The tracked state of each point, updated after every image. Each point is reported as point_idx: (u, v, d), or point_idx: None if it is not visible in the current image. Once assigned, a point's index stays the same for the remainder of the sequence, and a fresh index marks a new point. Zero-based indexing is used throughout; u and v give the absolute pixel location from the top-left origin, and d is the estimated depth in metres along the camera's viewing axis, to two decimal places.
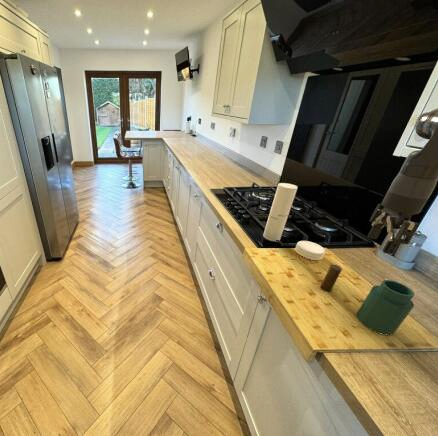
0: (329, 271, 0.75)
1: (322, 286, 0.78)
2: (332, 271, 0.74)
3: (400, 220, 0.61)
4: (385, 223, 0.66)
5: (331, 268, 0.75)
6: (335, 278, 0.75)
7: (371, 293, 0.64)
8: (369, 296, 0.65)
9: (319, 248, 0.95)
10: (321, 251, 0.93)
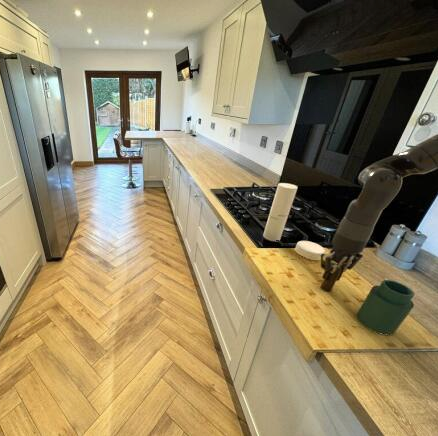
0: None
1: (322, 286, 0.78)
2: None
3: (330, 251, 0.72)
4: None
5: None
6: (335, 278, 0.75)
7: (371, 293, 0.64)
8: (369, 296, 0.65)
9: (319, 248, 0.95)
10: (321, 251, 0.93)
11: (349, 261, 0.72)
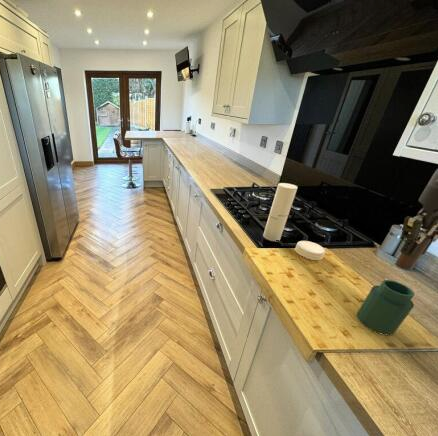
0: None
1: (399, 263, 0.59)
2: None
3: (418, 213, 0.53)
4: None
5: None
6: (421, 251, 0.56)
7: (371, 293, 0.64)
8: (369, 296, 0.65)
9: (319, 248, 0.95)
10: (321, 251, 0.93)
11: None
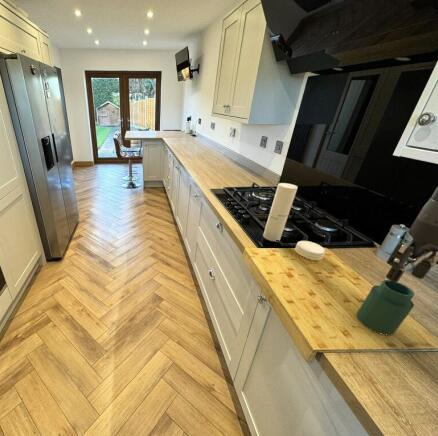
0: None
1: None
2: None
3: (408, 245, 0.55)
4: None
5: None
6: None
7: (371, 293, 0.64)
8: (369, 296, 0.65)
9: (319, 248, 0.95)
10: (321, 251, 0.93)
11: (436, 256, 0.55)
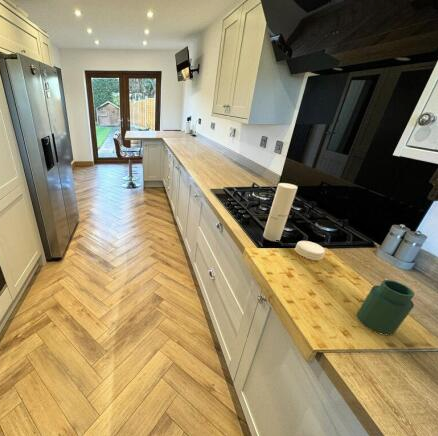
0: None
1: None
2: None
3: None
4: None
5: None
6: None
7: (371, 293, 0.64)
8: (369, 296, 0.65)
9: (319, 248, 0.95)
10: (321, 251, 0.93)
11: None
